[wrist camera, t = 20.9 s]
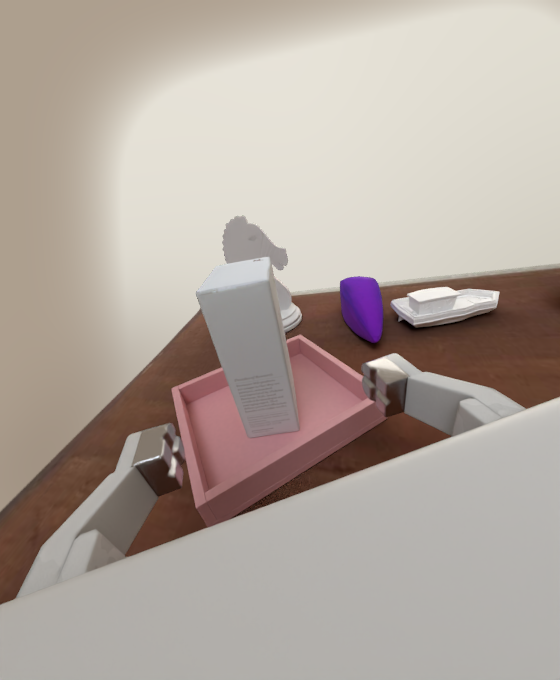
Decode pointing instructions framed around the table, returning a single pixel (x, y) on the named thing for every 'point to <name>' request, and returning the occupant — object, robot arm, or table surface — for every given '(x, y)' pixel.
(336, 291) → the table surface
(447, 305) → the white toy boat
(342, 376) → the tray
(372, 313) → the purple rounded wedge
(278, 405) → the cosmetic box
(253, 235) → the chess piece
